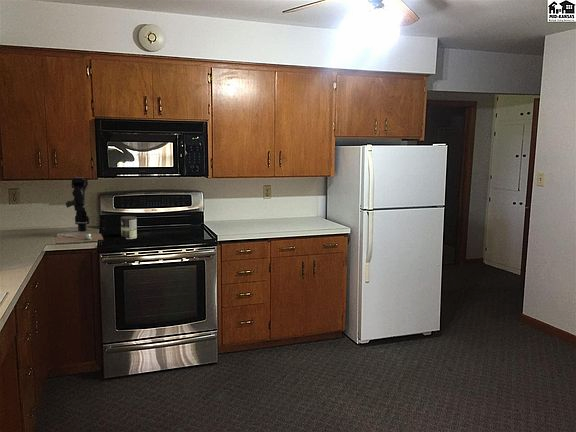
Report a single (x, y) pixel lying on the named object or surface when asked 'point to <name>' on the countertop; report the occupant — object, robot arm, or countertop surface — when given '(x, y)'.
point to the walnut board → (63, 239)
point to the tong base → (72, 234)
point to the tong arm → (80, 237)
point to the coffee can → (129, 227)
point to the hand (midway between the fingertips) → (79, 219)
